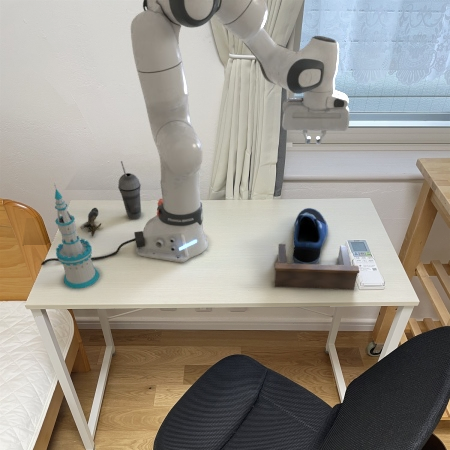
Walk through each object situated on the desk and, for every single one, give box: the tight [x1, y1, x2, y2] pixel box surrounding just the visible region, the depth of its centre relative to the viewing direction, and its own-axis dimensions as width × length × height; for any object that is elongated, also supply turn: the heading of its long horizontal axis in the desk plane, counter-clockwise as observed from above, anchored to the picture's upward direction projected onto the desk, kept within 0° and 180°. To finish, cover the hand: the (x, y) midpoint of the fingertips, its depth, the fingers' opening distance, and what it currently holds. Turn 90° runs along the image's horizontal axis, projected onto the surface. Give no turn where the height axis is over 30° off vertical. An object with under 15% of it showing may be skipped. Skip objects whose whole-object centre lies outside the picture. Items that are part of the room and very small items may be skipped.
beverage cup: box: [117, 160, 142, 221], centre depth 151 cm, size 7×7×20 cm
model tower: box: [53, 183, 100, 290], centre depth 123 cm, size 10×10×30 cm
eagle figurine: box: [80, 207, 102, 237], centre depth 150 cm, size 8×7×9 cm
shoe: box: [292, 207, 329, 264], centre depth 140 cm, size 11×30×12 cm, turn 168°
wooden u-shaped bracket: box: [274, 243, 360, 291], centre depth 131 cm, size 23×14×7 cm, turn 86°
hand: (312, 143), depth 145 cm, fingers closed
